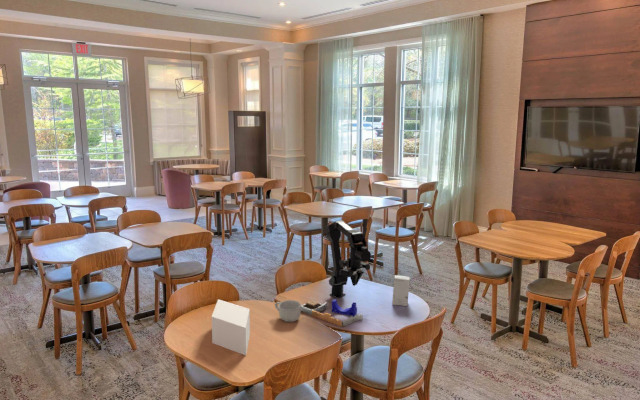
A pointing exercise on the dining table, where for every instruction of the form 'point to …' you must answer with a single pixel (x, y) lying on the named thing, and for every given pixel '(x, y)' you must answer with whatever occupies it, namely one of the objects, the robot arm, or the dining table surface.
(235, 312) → the block
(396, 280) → the skincare box
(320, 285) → the dining table surface
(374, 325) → the dining table surface
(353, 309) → the cable clip
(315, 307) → the rack
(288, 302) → the teacup
